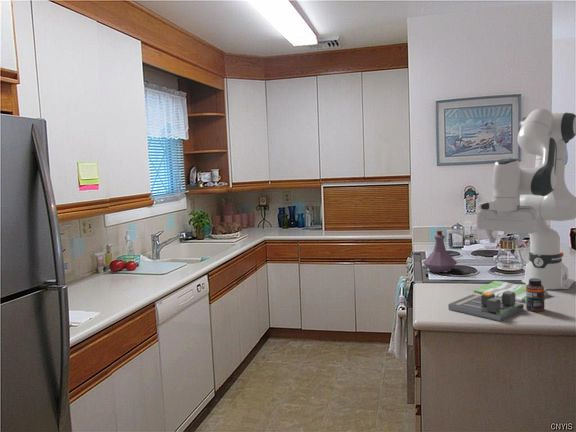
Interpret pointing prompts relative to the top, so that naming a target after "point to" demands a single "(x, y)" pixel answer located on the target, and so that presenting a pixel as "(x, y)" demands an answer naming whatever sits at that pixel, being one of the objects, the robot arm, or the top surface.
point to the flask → (439, 256)
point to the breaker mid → (486, 297)
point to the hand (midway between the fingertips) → (505, 244)
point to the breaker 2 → (508, 298)
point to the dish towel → (502, 287)
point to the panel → (484, 308)
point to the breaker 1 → (493, 305)
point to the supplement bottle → (535, 295)
